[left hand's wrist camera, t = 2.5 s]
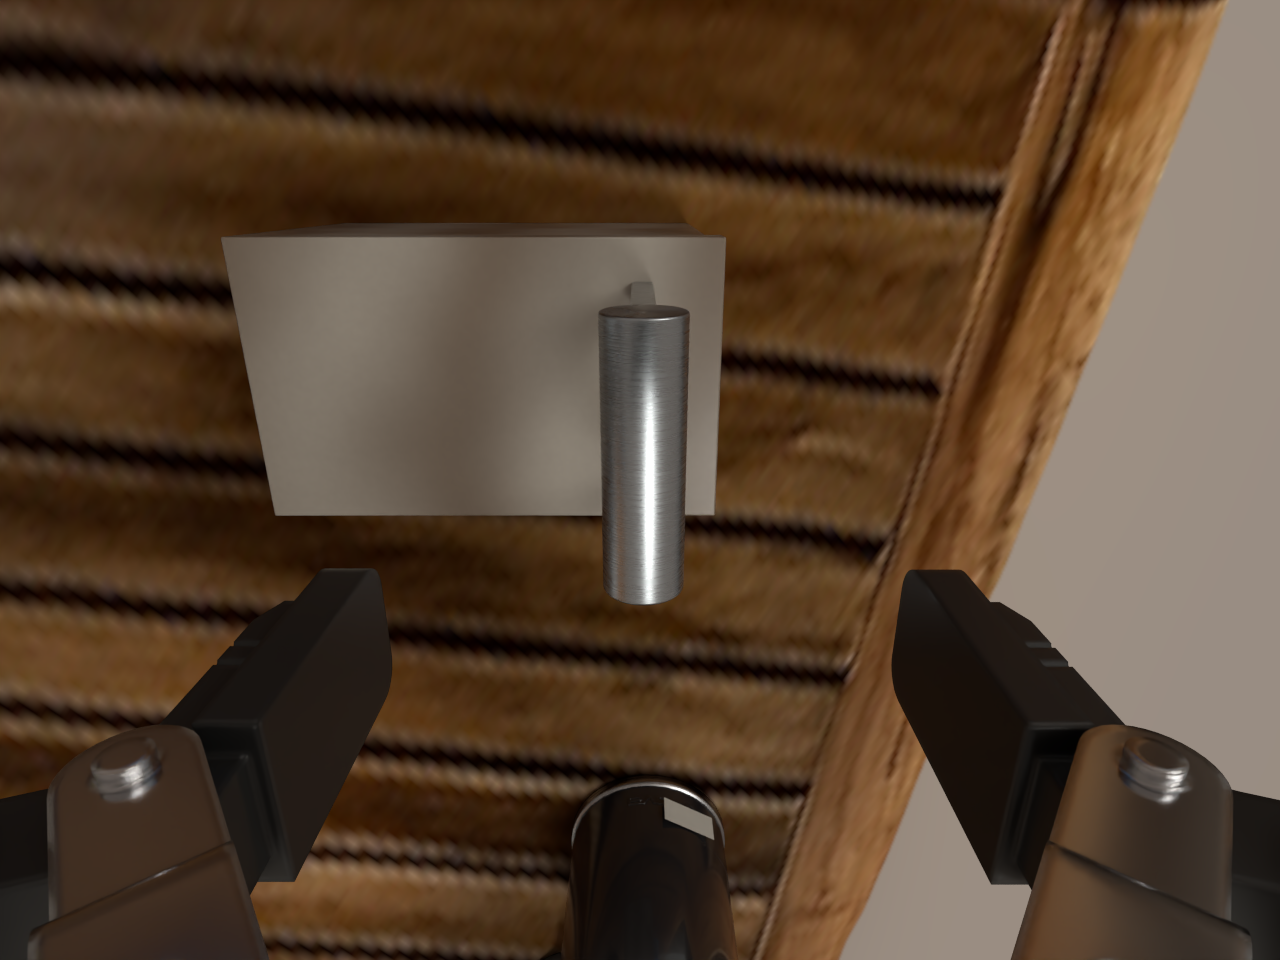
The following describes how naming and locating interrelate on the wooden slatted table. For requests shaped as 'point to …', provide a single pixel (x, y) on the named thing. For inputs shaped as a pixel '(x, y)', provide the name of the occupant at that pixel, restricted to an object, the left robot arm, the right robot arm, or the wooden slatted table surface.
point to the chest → (493, 229)
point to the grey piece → (491, 381)
